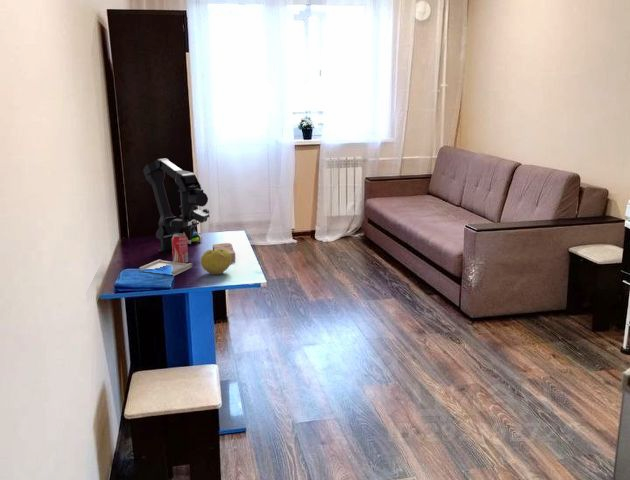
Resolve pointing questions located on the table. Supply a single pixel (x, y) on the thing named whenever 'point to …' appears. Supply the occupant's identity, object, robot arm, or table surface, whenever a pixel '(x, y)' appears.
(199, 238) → the multicoloured layered toy figurine
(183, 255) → the beverage can
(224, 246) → the brick
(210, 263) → the fruit
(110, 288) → the table surface
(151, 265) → the tray
